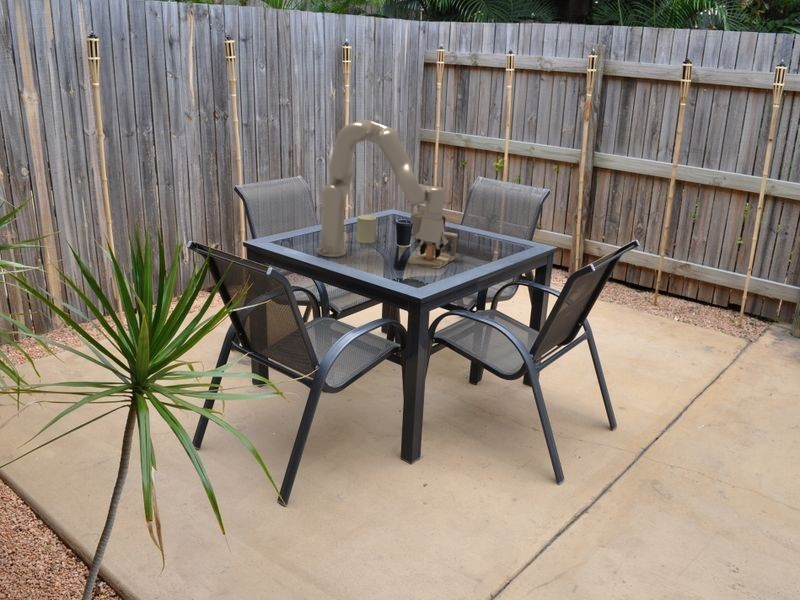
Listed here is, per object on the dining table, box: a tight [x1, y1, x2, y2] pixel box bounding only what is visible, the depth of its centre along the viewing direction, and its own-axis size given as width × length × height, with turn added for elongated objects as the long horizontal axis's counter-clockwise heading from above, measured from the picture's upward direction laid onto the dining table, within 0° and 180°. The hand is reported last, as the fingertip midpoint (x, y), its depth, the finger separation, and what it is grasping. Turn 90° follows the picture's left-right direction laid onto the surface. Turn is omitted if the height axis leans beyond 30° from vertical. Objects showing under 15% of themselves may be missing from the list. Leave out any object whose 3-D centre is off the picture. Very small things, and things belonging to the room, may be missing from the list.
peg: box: [426, 244, 435, 261], centre depth 319 cm, size 3×3×8 cm
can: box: [355, 214, 377, 244], centre depth 346 cm, size 9×9×12 cm
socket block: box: [408, 231, 458, 268], centre depth 321 cm, size 18×14×12 cm
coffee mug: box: [409, 212, 425, 235], centre depth 365 cm, size 13×10×10 cm
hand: (429, 255), depth 320 cm, fingers open, 6 cm apart
